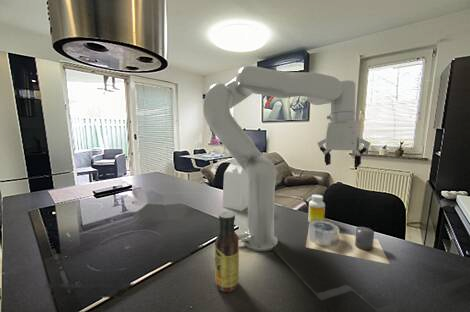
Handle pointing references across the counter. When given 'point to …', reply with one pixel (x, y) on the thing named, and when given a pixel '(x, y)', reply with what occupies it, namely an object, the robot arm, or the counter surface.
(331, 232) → the lens barrel
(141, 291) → the counter surface
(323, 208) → the supplement bottle
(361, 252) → the birch board
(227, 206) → the milk
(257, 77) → the robot arm
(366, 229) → the grey rounded canister
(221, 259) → the sauce bottle
